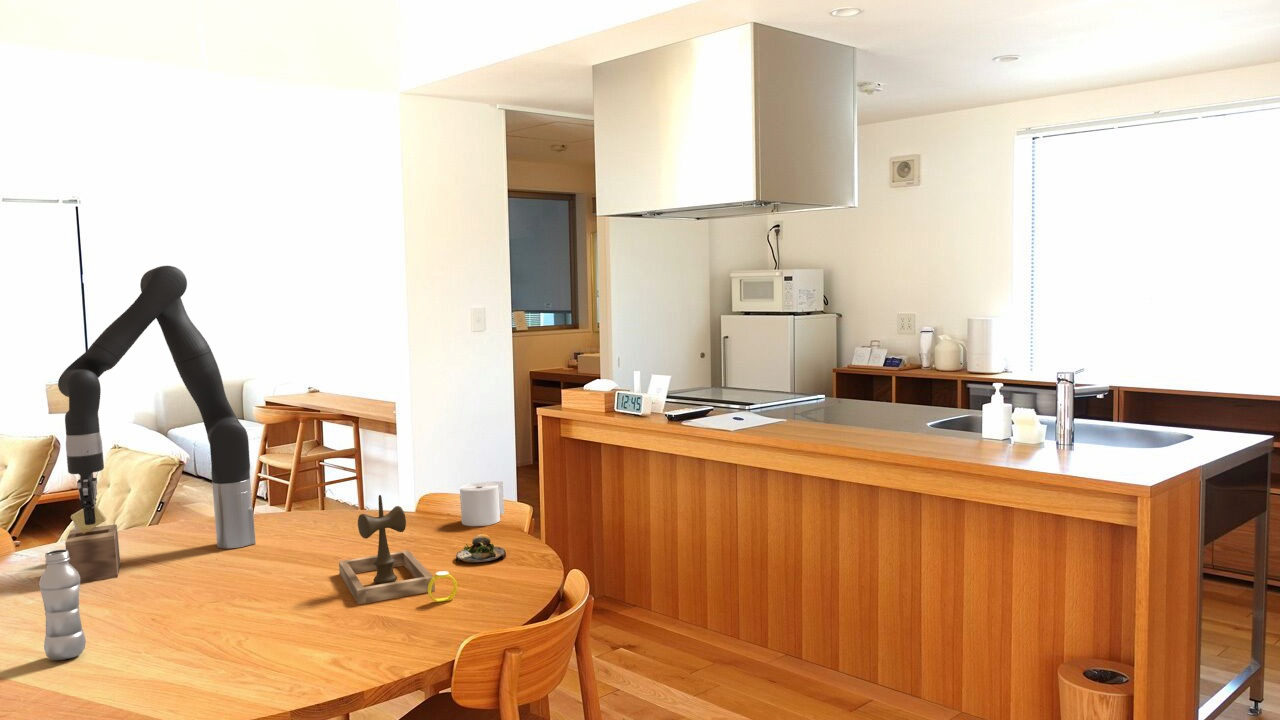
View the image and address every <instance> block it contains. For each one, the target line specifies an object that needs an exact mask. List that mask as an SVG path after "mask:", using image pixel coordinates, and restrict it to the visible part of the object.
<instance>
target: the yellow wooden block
mask: <svg viewBox="0 0 1280 720" xmlns="http://www.w3.org/2000/svg"><path fill="white" fill-rule="evenodd" d="M94 505H95V503H94ZM94 511H95V524H92V525H85V520H84V510H83V509H82V508H81V509H79V510H78V511H76V512H74V513H73V514H71V516H70V519H71V520H72V522H73V523H75V524H76V525H77V527H78V528H79V529H80V531H81V532H82V533H83V534H84V533H86V532H88V531H89V530H91V529H93V528H94V527H99V525H101V524H103V523H104V522H106V521H107V518H106V517H105V515H104V514H103V513H102V511H101V509H100V508H99V507H98V506H97V504H96V505H95V509H94Z"/></svg>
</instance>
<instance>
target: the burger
mask: <svg viewBox="0 0 1280 720" xmlns="http://www.w3.org/2000/svg"><path fill="white" fill-rule="evenodd" d="M491 541H492V540H491V537H490V536H489V535H488V534H485V533H480V534H477V535H476V536H474V537H473V539H472V542H471V544H472V545H470V546H469V545H468V544H466V543H465V546H463V549H462V550H460V551H458V552H457V553H456V554H455V562H458V560H461V561H463V562H468V563H485V562H491V561H494V560H497V559H499V558H500V557H502V558H501V560H502V561H504V560H505V559H506V558H507V551H506V549H504V548H503V547H499V546H495V544H493V543H491Z"/></svg>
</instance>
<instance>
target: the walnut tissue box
mask: <svg viewBox="0 0 1280 720" xmlns="http://www.w3.org/2000/svg"><path fill="white" fill-rule="evenodd" d="M64 544H65V550H68V552H69V557H70V560H69V561H68V562H69V564H70V565H71V566H73V567H74V568H75V569H76V570H77V571H78V573H79V575H80V584H82V583H88V582H94V581H100V580H106V579H107V580H108V579H115V578H118V577H119V573H120V572H119V571H120V568H119V567H120V566H121V557H120V545H119V535H118V525H117V524H109V525H101V526H96V527H94V528H93V529H91V530H89V531H88V532H86V533H84V534H83V533H82V532H81V531H80V529H77V530H73V529H71V530H69V532H68V535H67V538H66V539H65V543H64Z"/></svg>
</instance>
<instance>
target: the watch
mask: <svg viewBox="0 0 1280 720" xmlns="http://www.w3.org/2000/svg"><path fill="white" fill-rule="evenodd" d="M446 578H450V579H451V580H452V582H453V583H452V584H453V589H452V591H451V593H450V594H449V595H448V596H447V597H442V598H435V597H434V596H433V592H431V590H432V585H433V583H434V584H435V582H436V581H437V580H439V579H446ZM457 592H458V582H457V580H456V578H455V577H453V576H452V575H451V574H450V572H449V571H444V570H443V571H442V570H441V571H437V572H435V575H433V578H432V579H431V581H430V582H429V585H428V592H427V593H428V596H429V597H430V599H432V600H433V601H434V602H436V603H441V602H449V601H452V600H453V598H454V597H455V596H456V594H457Z"/></svg>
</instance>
